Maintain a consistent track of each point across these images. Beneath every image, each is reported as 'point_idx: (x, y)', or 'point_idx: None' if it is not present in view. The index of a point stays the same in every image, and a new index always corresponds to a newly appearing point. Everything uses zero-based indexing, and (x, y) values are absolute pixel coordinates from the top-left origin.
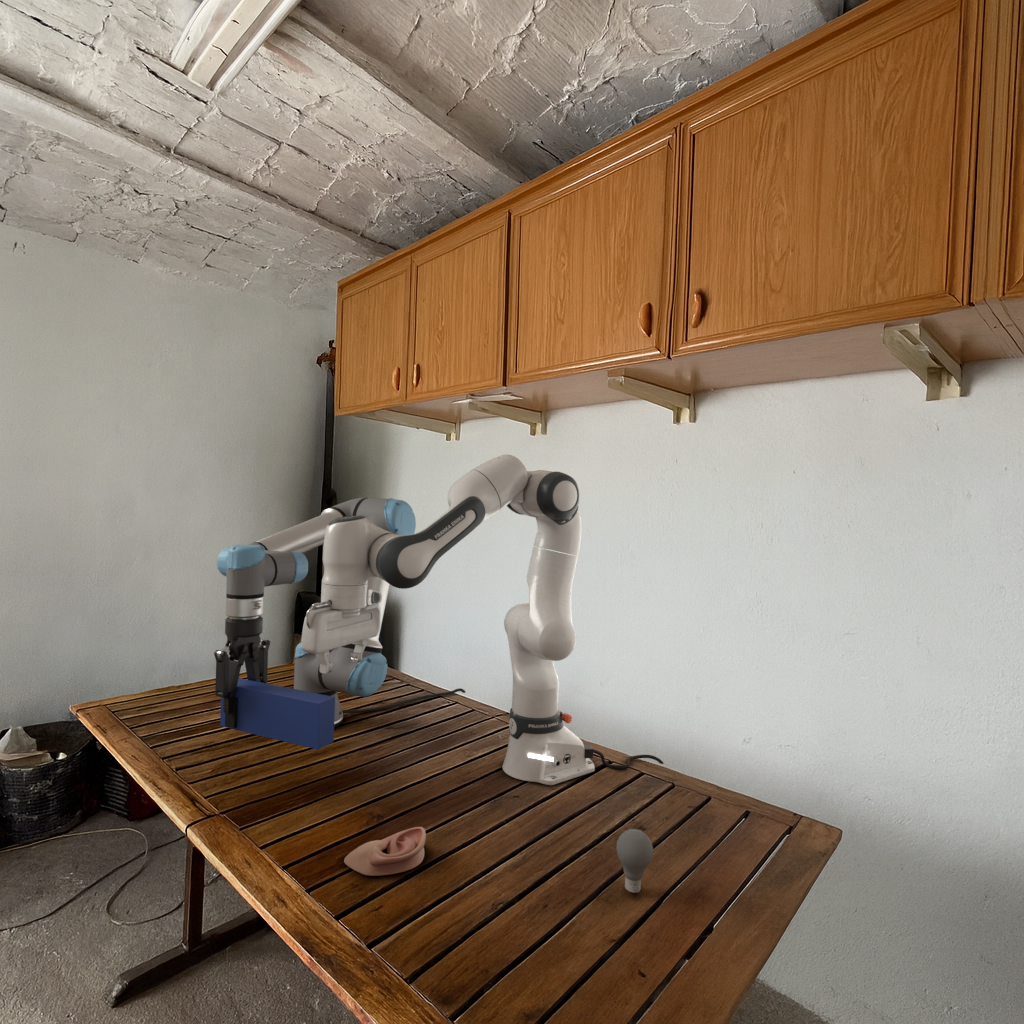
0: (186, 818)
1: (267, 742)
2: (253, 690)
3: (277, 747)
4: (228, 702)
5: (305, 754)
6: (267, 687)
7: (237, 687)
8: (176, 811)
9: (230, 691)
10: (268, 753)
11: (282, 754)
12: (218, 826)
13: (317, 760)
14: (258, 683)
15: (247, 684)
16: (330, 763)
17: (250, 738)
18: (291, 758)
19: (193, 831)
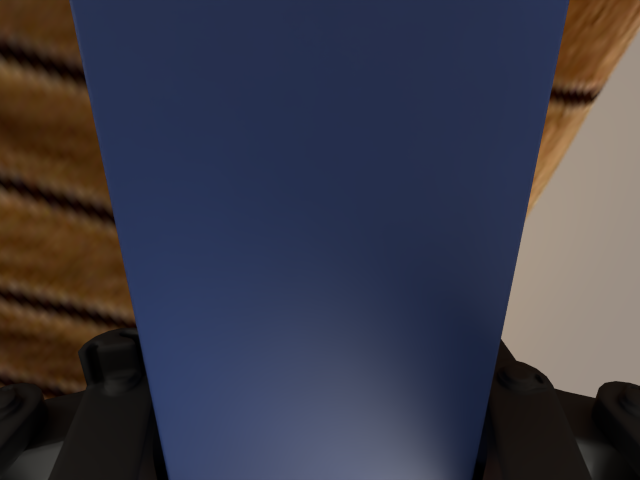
0: (558, 140)
1: (64, 326)
2: (538, 149)
3: (66, 276)
4: (511, 354)
5: (34, 158)
6: (289, 23)
7: (474, 446)
8: (530, 199)
9: (566, 430)
10: (115, 267)
11: (90, 225)
12: (575, 5)
13: (35, 79)
14: (209, 343)
15: (337, 425)
16: (16, 10)
17: (81, 382)
18: (90, 176)
19: (622, 54)
